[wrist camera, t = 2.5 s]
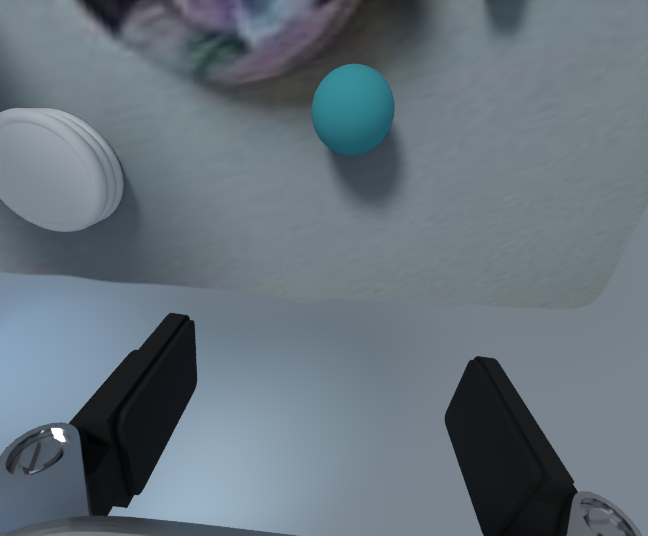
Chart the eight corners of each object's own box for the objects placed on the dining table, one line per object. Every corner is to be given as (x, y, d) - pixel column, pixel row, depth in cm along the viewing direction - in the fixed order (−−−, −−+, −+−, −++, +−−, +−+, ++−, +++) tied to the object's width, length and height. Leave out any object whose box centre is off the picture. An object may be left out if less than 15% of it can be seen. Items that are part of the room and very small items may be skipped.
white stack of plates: (143, 158, 29) (119, 164, 25) (105, 240, 32) (80, 254, 29) (29, 81, 26) (-13, 77, 23) (2, 179, 30) (-38, 187, 27)
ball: (345, 165, 28) (348, 178, 23) (299, 108, 26) (289, 108, 21) (402, 115, 26) (419, 117, 21) (356, 50, 24) (362, 33, 19)
